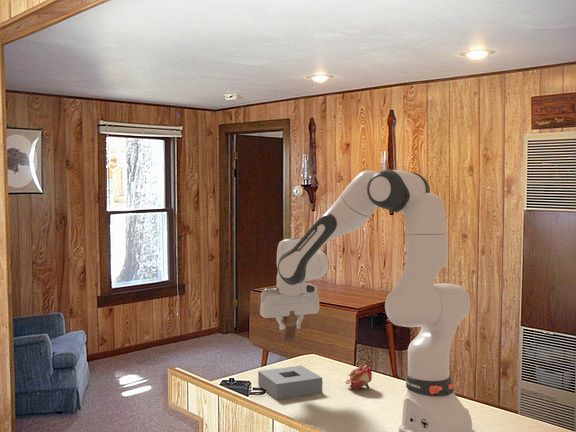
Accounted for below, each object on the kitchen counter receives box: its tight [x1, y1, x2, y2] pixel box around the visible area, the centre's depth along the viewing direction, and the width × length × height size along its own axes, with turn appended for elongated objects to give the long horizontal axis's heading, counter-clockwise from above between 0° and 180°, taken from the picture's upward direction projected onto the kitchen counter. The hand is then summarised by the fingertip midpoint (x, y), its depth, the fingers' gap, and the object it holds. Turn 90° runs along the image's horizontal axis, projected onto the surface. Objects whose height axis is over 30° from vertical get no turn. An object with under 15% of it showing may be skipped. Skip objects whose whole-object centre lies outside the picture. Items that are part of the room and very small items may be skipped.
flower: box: [345, 364, 373, 390], centre depth 196 cm, size 10×9×8 cm
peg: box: [283, 311, 297, 342], centre depth 195 cm, size 4×4×10 cm
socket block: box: [257, 365, 323, 401], centre depth 196 cm, size 16×16×5 cm
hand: (289, 329), depth 195 cm, fingers closed on peg, 4 cm apart
